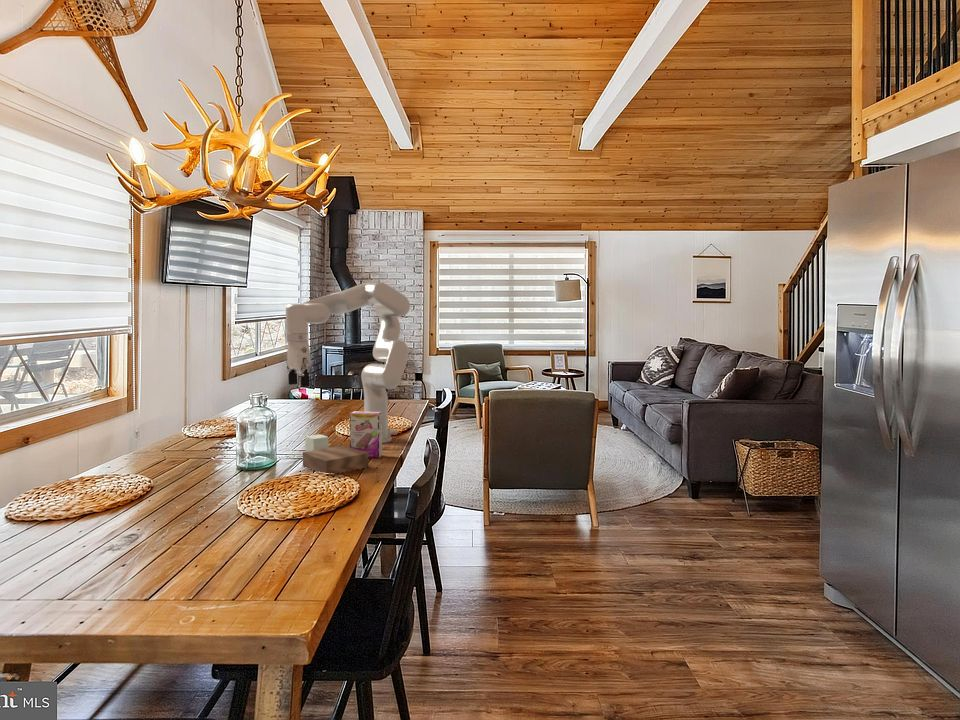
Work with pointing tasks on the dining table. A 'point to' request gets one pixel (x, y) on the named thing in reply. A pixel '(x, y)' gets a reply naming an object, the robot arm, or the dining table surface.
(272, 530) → the dining table surface
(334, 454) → the block
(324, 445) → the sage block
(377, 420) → the candy bar box
